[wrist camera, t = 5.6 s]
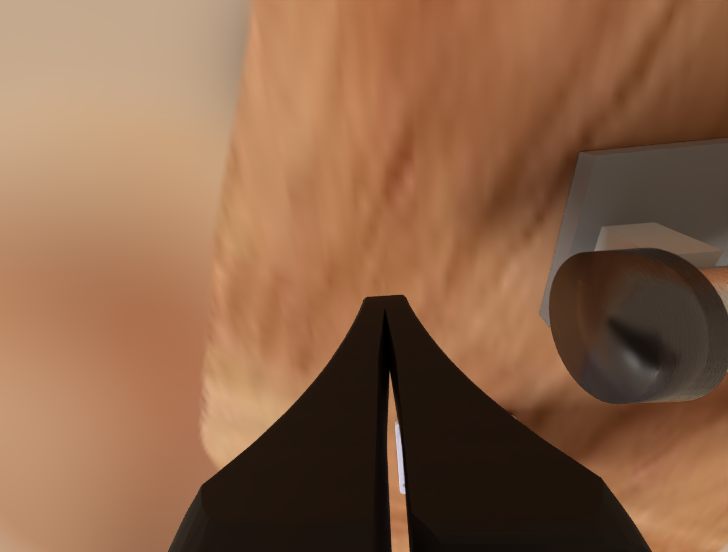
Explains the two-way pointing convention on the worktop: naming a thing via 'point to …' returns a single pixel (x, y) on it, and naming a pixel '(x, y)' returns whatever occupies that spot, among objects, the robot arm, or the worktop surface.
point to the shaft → (641, 325)
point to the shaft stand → (648, 203)
